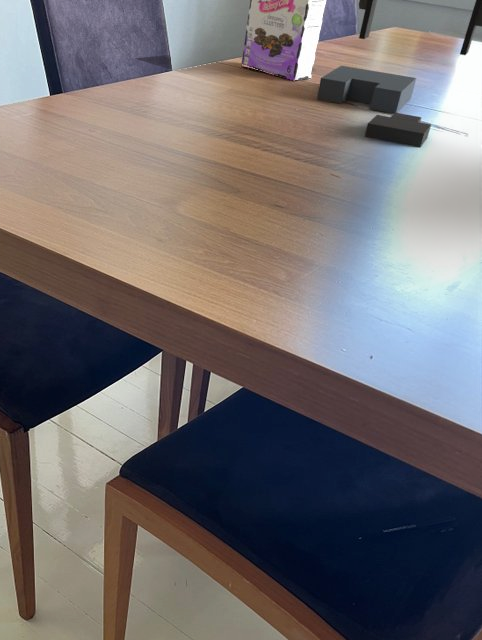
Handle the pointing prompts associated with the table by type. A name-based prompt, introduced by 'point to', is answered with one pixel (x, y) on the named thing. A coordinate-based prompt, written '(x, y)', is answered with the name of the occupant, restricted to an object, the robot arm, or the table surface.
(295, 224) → the table surface
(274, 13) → the candy box
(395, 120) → the pad
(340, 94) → the base pad
